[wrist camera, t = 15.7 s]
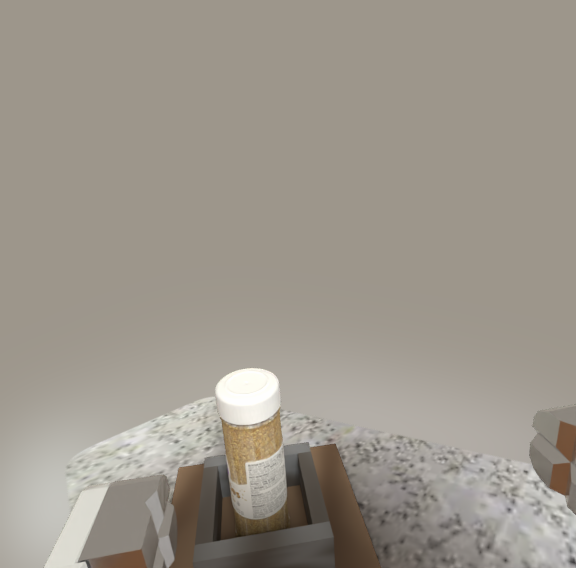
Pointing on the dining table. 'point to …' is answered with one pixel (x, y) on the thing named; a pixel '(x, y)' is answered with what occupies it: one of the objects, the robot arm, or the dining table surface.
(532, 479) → the dining table surface
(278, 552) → the socket base
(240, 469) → the sprinkles bottle
